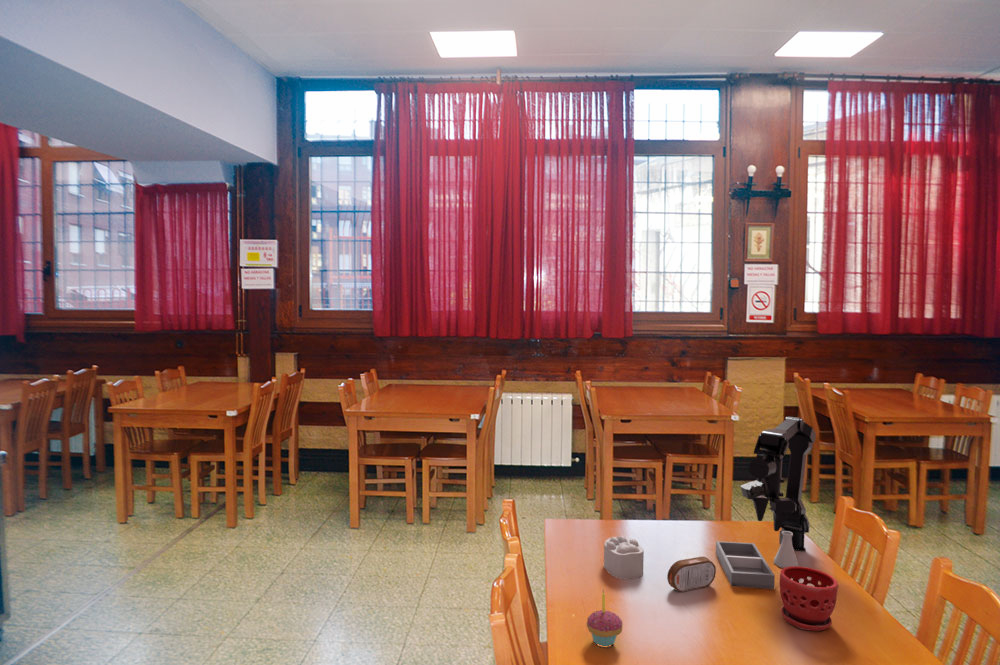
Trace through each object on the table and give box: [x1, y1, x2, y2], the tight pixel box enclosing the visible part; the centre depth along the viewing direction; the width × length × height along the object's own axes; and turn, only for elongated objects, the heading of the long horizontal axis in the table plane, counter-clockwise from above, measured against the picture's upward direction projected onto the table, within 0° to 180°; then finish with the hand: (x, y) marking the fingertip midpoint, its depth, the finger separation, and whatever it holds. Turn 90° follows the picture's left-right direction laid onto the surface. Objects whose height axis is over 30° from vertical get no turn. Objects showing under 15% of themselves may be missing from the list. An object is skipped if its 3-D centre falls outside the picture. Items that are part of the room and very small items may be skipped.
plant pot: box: [779, 566, 839, 632], centre depth 158 cm, size 13×13×12 cm
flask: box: [773, 531, 799, 569], centre depth 191 cm, size 7×7×10 cm
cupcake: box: [586, 589, 623, 646], centre depth 149 cm, size 9×8×12 cm
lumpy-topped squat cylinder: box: [603, 535, 645, 580], centre depth 188 cm, size 10×13×9 cm
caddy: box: [715, 540, 776, 590], centre depth 187 cm, size 12×22×4 cm, turn 172°
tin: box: [666, 556, 717, 593], centre depth 176 cm, size 15×3×8 cm, turn 111°
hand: (767, 525), depth 187 cm, fingers open, 9 cm apart
